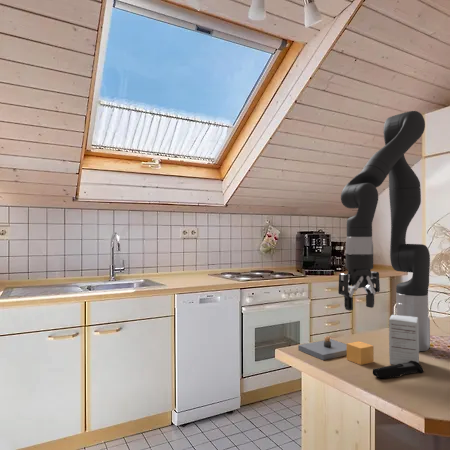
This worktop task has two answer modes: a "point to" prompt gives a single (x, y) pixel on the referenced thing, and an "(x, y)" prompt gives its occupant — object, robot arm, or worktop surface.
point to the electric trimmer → (398, 370)
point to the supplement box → (403, 339)
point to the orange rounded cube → (360, 353)
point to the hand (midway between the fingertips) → (359, 308)
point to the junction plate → (324, 349)
